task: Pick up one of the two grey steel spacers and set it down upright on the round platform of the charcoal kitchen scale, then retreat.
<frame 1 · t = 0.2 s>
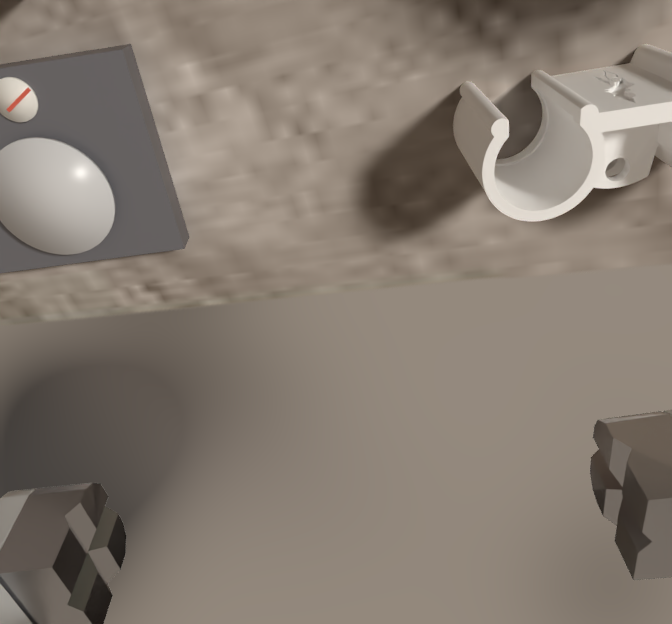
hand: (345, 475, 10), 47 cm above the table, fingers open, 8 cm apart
c-shaped pipe clip: (592, 108, 54), on the table
scale: (57, 164, 55), on the table
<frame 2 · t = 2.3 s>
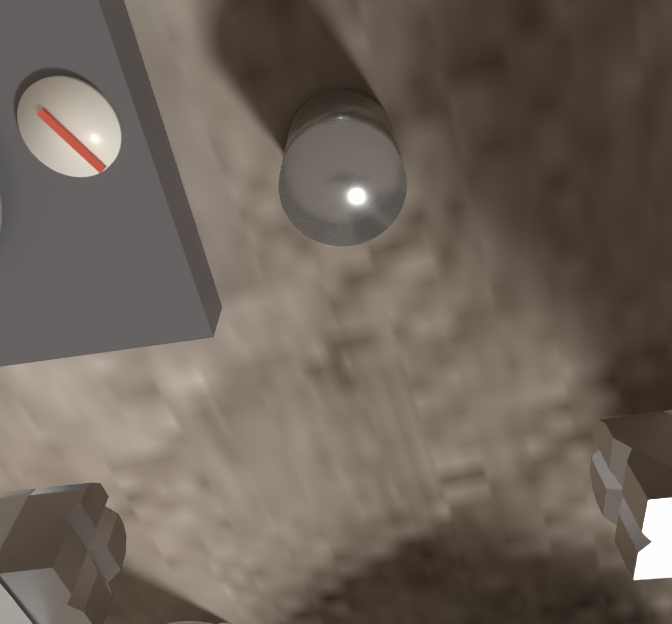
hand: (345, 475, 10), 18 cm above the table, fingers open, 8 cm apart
spacer a: (341, 143, 25), on the table
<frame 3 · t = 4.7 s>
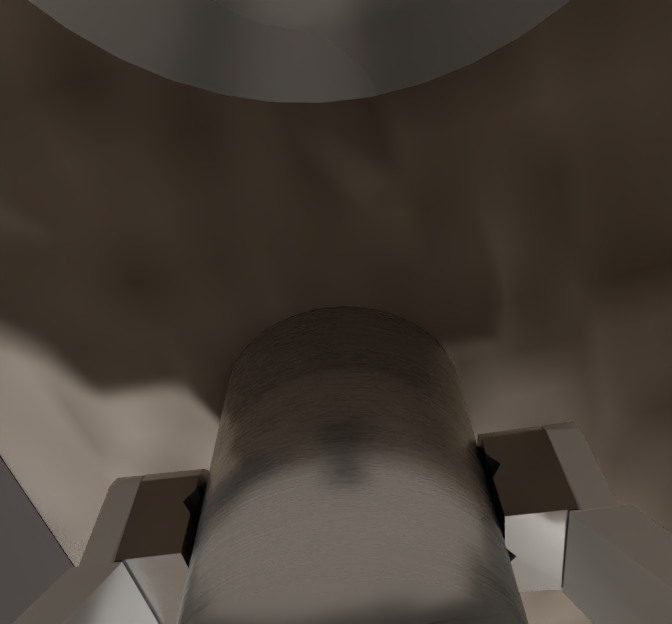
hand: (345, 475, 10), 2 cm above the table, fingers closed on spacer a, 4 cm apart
spacer a: (343, 404, 11), on the table, touching gripper
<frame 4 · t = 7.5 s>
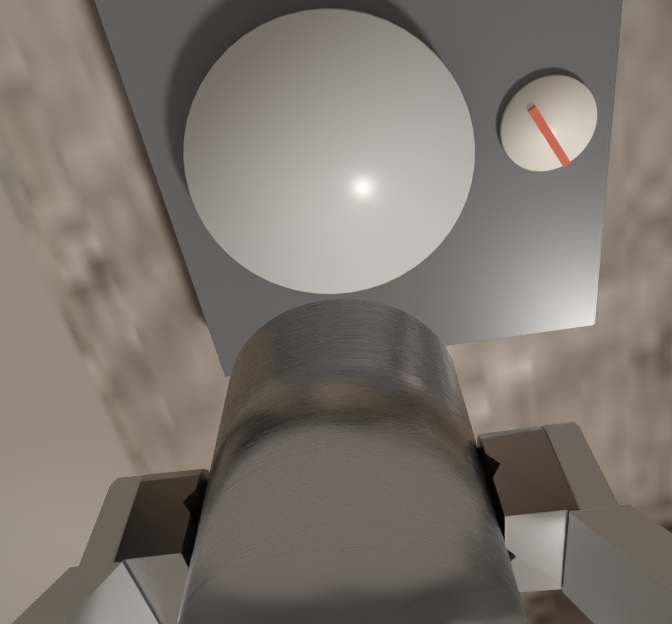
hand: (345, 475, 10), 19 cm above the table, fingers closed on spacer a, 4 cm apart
spacer a: (343, 395, 12), point 17 cm above the table, touching gripper
scale: (375, 132, 26), on the table
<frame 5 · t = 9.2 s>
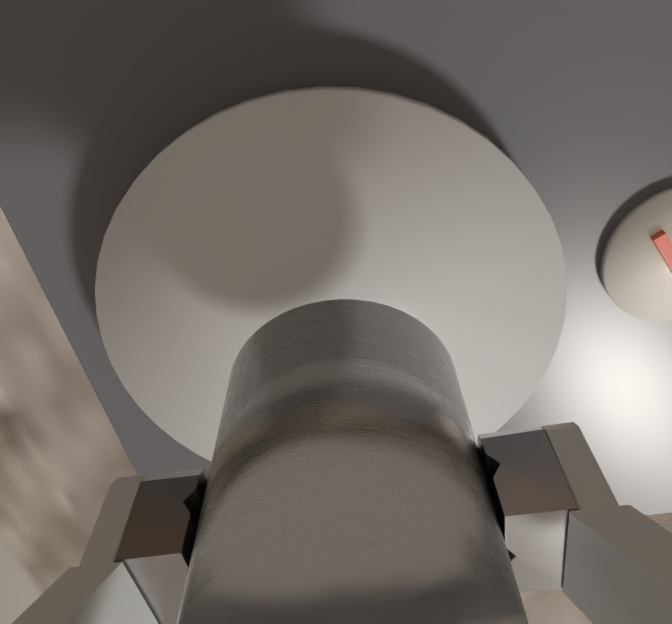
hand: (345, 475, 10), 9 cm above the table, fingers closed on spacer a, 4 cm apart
spacer a: (343, 395, 12), point 7 cm above the table, touching gripper
scale: (399, 248, 17), on the table
when the fingers open (6 cm above the table, at t = 10.5 s): spacer a stays where it is, resting on scale.
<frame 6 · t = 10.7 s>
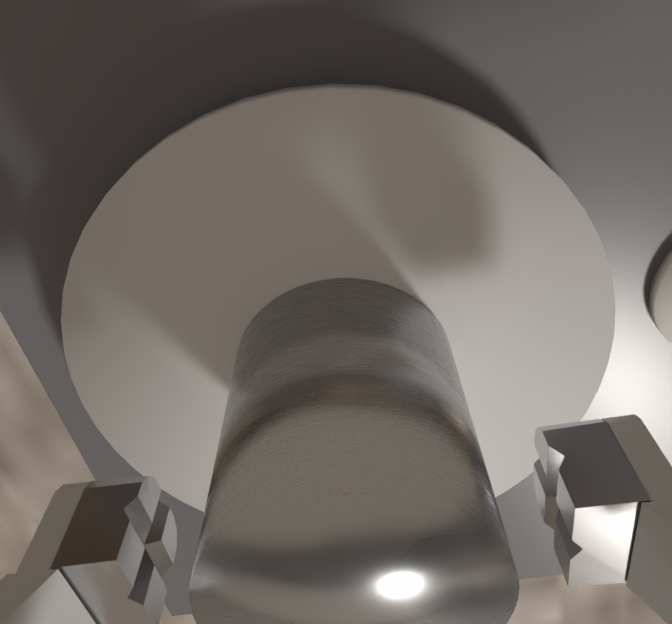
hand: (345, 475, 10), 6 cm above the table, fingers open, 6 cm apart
spacer a: (344, 371, 12), point 4 cm above the table, touching scale
scale: (414, 267, 15), on the table
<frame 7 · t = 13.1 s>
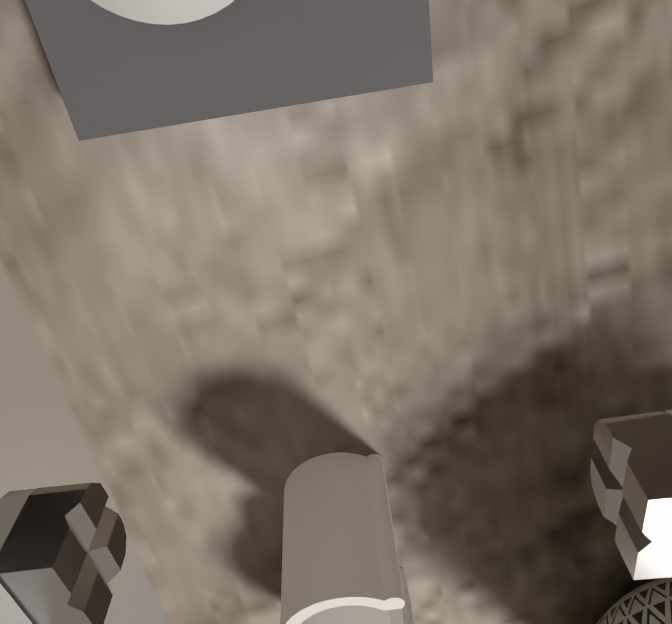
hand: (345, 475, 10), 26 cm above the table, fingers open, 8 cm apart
planter: (669, 600, 60), on the table
c-shaped pipe clip: (348, 549, 53), on the table
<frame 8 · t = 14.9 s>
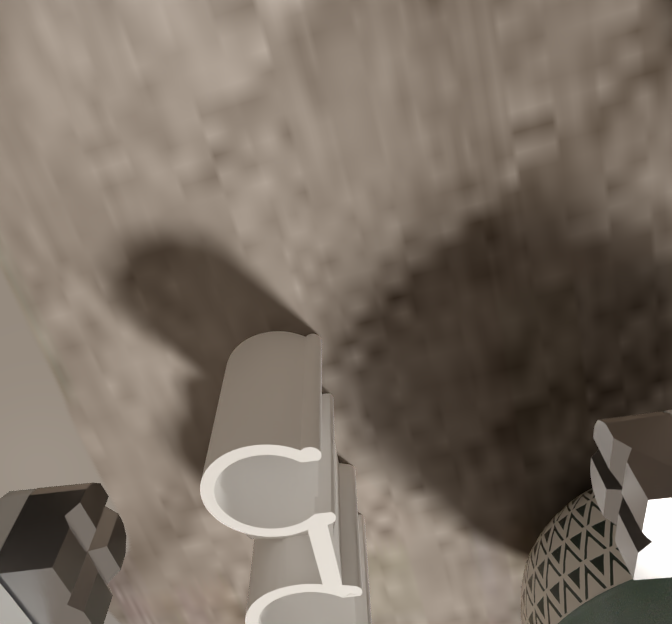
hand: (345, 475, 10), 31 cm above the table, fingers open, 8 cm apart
planter: (626, 511, 59), on the table
c-shaped pipe clip: (296, 443, 53), on the table
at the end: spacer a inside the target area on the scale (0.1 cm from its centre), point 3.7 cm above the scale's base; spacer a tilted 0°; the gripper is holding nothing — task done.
